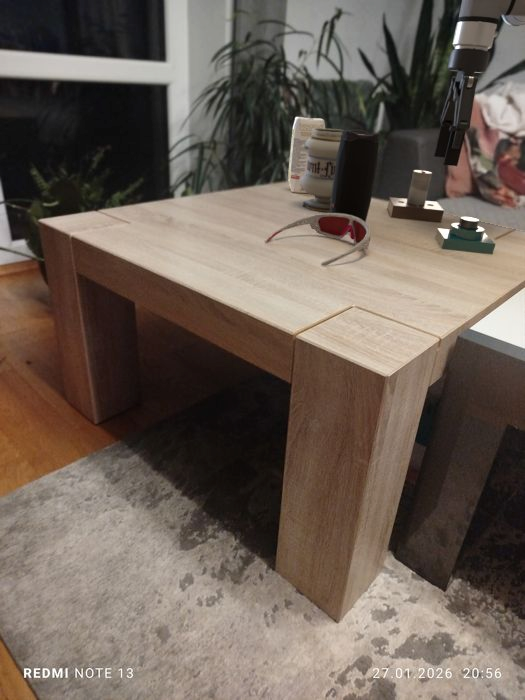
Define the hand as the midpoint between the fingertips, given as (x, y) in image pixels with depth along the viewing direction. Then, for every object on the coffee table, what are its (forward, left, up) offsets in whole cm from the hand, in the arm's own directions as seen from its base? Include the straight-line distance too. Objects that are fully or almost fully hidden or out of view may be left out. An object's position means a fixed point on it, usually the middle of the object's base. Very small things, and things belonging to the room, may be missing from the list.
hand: (444, 161), depth 111 cm
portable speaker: (+20, +9, -15) cm, 26 cm away
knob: (+3, -9, -11) cm, 15 cm away
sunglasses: (+25, +27, -15) cm, 39 cm away
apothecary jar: (+26, -8, -15) cm, 31 cm away
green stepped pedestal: (-4, +15, -14) cm, 21 cm away
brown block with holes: (+3, -9, -14) cm, 17 cm away
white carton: (+32, -26, -15) cm, 43 cm away
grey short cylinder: (-4, +15, -11) cm, 19 cm away
